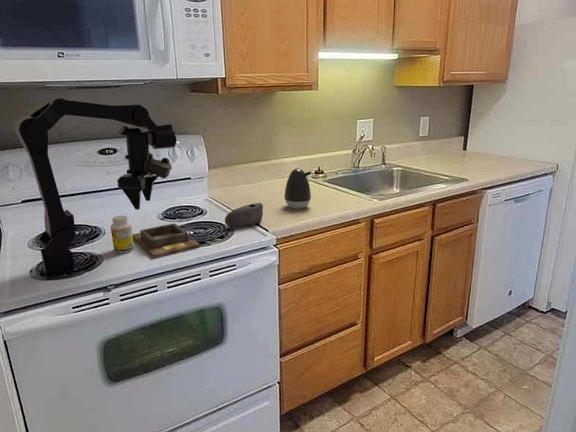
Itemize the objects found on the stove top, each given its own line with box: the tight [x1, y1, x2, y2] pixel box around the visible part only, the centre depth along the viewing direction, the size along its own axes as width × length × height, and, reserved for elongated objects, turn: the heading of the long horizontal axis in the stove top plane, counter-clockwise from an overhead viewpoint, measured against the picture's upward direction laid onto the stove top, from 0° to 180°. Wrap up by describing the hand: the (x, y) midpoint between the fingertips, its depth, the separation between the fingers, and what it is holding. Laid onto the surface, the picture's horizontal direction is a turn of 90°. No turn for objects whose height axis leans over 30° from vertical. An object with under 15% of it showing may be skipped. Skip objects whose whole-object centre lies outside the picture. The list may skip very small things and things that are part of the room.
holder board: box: [132, 223, 201, 259], centre depth 132 cm, size 14×20×4 cm
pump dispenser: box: [284, 168, 312, 210], centre depth 164 cm, size 10×10×15 cm
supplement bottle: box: [110, 214, 135, 254], centre depth 125 cm, size 6×6×10 cm
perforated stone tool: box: [224, 202, 264, 228], centre depth 146 cm, size 15×5×7 cm, turn 122°
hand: (143, 204), depth 124 cm, fingers open, 9 cm apart
